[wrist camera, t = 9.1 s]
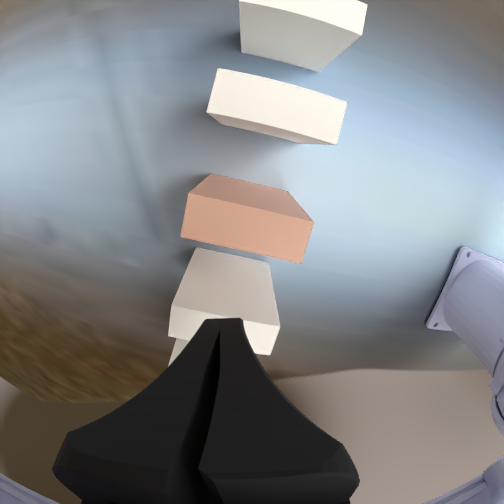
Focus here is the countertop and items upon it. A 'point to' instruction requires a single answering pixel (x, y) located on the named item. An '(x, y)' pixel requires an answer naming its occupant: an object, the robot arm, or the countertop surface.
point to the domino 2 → (275, 108)
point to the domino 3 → (247, 218)
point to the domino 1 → (300, 29)
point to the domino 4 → (226, 297)
